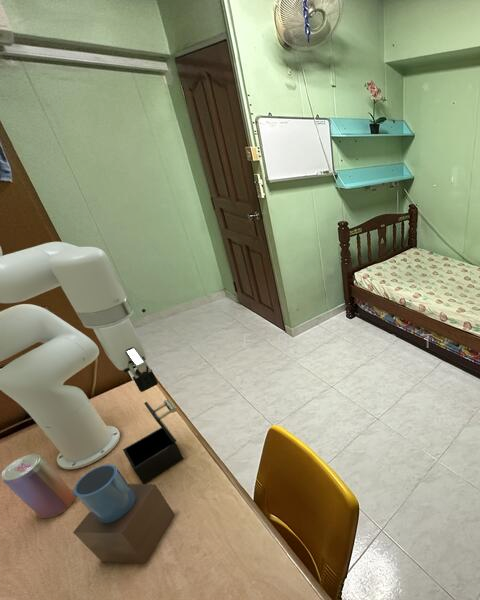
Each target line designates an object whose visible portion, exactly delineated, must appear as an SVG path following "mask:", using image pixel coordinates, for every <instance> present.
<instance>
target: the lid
mask: <svg viewBox="0 0 480 600" xmlns="http://www.w3.org/2000/svg"><path fill="white" fill-rule="evenodd" d="M143 405H144V406H145V408H147V410H148V411H149V413H150V414H151V416H152V417H153V419H154V420H155V422H156V423H157V424H158V425H159V426H160V428H161V427H162V429H163V430H164V431H165V432H166V434H167V435H168V436H169V437H170V439H171V440H172V441H173V442H174V443H176V442H177V439H176V438H175V437H174V435H173V434H172V433H171V431H170V430H169V428H168V427H167V425H166V424H165V423H164V421H163V420H162V419H164V418H165V417H167V416H168V415H170V414H174V413H176V412H177V410H178V408H177V407H176V405H175V404H174V403H173V402H172V400H171V399H169V398H168V399H164V401H163V403H161V404H160V405H158V406H156V407H155V408H153V407H151V405H150V404H149V403H148V401H145V402H144V403H143ZM165 407H166V408H167V409H168V410H166V411H165V412H163V413H161V414H160V415H158V414H157V412H158V411H161V410H162V409H164V408H165Z"/></svg>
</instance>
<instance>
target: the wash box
mask: <svg viewBox="0 0 480 600" xmlns="http://www.w3.org/2000/svg"><path fill="white" fill-rule="evenodd" d="M122 451H123V453H124V455H125V457H126V458H127V461H128V463H129V465H130V466H131V468H132V470H133V471H134V473H135V474H136V476H137V478H138V479H139V480H140V482H141V484H149V483H150V482H152V481H153V480H154V479H156V478H157V477H159V476H160V475H162V474H163V473H165V472H166V471H169V469H171V468H172V467H175V466H176V465H178V463H180V462H181V461H183V460H185V458H184V455H183V454H182V452H181V450H180V448H179V446H178V444H177V443H176V442H175V443H174V442H173V441H172V440H171V439H170V437H169V436H168V435H167V434H166V432H165V431H164V430H163V429H162V427H161V426H160V427H159V428H157V429H156V430H154V431H152V432H150V433H149V434H147V435H145V436H144V437H141V438H140V439H138V440H136V441H135V442H134V443H131V444H130V445H128V446H127V447H124V448H123V449H122Z"/></svg>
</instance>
